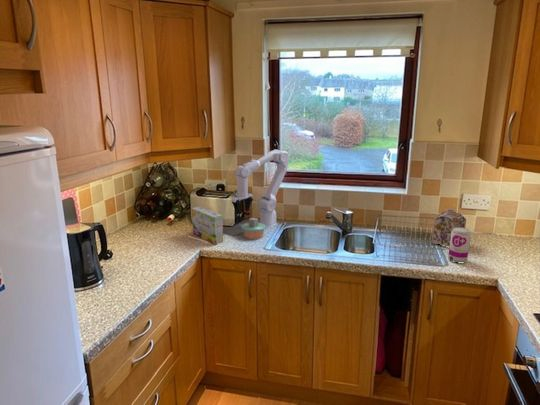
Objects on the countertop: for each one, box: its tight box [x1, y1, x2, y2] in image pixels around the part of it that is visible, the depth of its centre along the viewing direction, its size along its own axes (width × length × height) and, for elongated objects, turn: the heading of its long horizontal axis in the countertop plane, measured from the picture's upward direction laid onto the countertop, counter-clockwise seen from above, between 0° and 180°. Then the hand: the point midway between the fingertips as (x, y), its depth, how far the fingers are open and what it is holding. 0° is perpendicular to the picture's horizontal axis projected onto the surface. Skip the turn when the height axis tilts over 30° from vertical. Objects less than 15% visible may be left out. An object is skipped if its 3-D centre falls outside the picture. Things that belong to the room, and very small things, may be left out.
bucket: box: [243, 229, 265, 240], centre depth 220 cm, size 10×10×5 cm
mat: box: [223, 224, 244, 238], centre depth 229 cm, size 16×15×1 cm
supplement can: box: [447, 227, 472, 263], centre depth 190 cm, size 8×8×15 cm
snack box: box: [191, 206, 224, 246], centre depth 214 cm, size 21×6×15 cm, turn 42°
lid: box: [240, 217, 267, 232], centre depth 219 cm, size 13×13×5 cm
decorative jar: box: [431, 209, 467, 246], centre depth 211 cm, size 12×12×18 cm
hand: (242, 212), depth 227 cm, fingers open, 7 cm apart
